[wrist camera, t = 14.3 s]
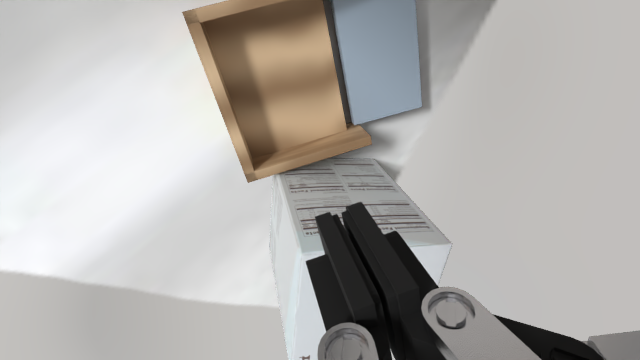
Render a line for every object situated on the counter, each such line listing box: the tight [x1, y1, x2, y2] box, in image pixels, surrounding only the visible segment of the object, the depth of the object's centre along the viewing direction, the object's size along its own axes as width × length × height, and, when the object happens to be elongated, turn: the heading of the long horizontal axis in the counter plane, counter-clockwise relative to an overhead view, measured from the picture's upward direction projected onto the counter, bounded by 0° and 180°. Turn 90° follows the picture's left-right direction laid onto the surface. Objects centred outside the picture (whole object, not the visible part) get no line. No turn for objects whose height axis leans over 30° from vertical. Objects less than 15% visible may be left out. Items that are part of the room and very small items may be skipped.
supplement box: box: [269, 159, 452, 360], centre depth 36 cm, size 13×13×18 cm
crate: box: [182, 0, 372, 183], centre depth 33 cm, size 16×14×5 cm
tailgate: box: [330, 0, 422, 125], centre depth 35 cm, size 13×2×8 cm
